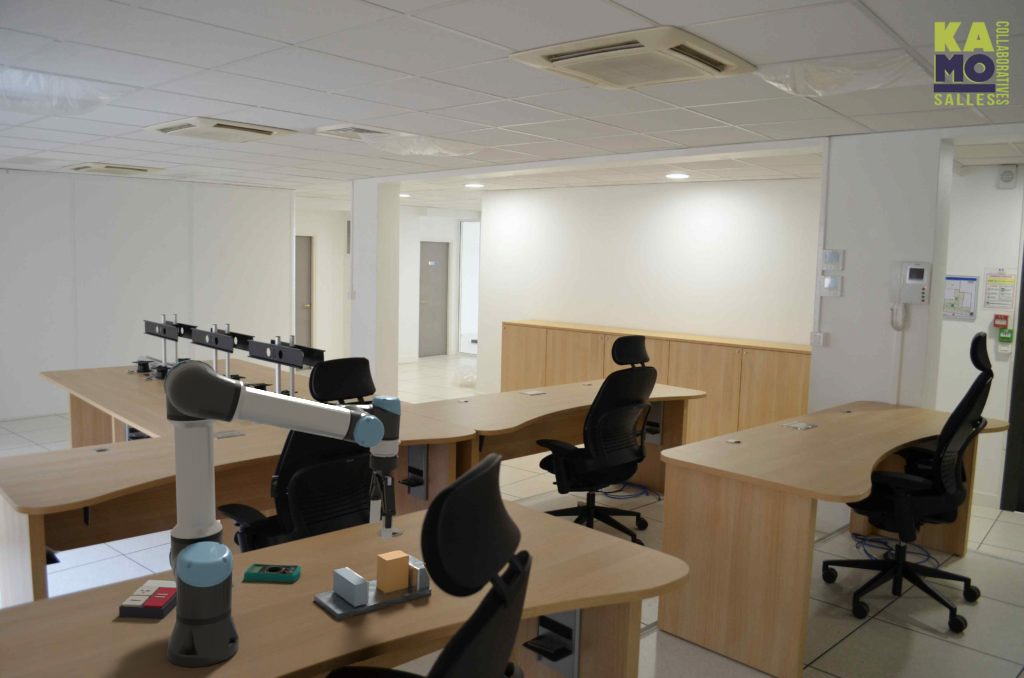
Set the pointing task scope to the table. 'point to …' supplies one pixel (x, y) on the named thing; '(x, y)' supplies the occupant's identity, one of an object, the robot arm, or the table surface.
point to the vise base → (379, 594)
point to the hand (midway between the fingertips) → (380, 531)
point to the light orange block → (392, 571)
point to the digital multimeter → (272, 573)
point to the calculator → (150, 600)
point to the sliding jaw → (351, 586)
